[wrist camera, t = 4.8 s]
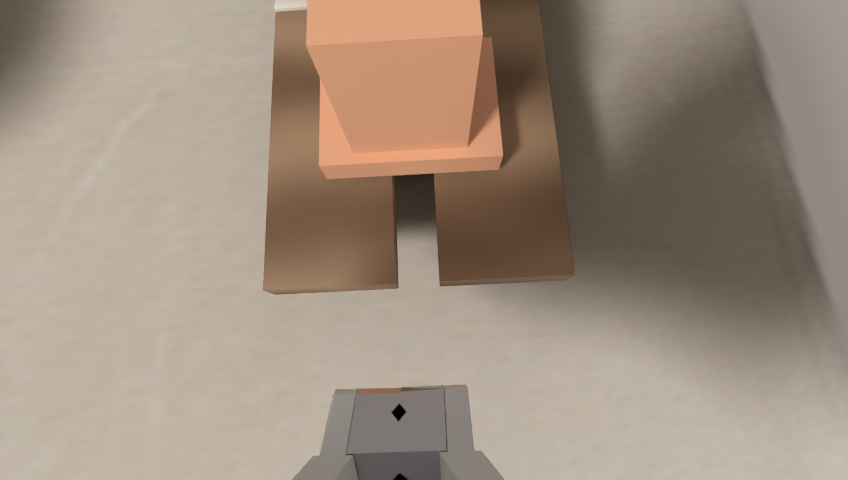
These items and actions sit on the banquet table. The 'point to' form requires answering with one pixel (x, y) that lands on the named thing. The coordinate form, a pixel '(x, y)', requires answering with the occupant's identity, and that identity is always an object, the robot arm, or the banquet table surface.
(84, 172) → the banquet table surface
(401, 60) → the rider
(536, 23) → the balance beam
